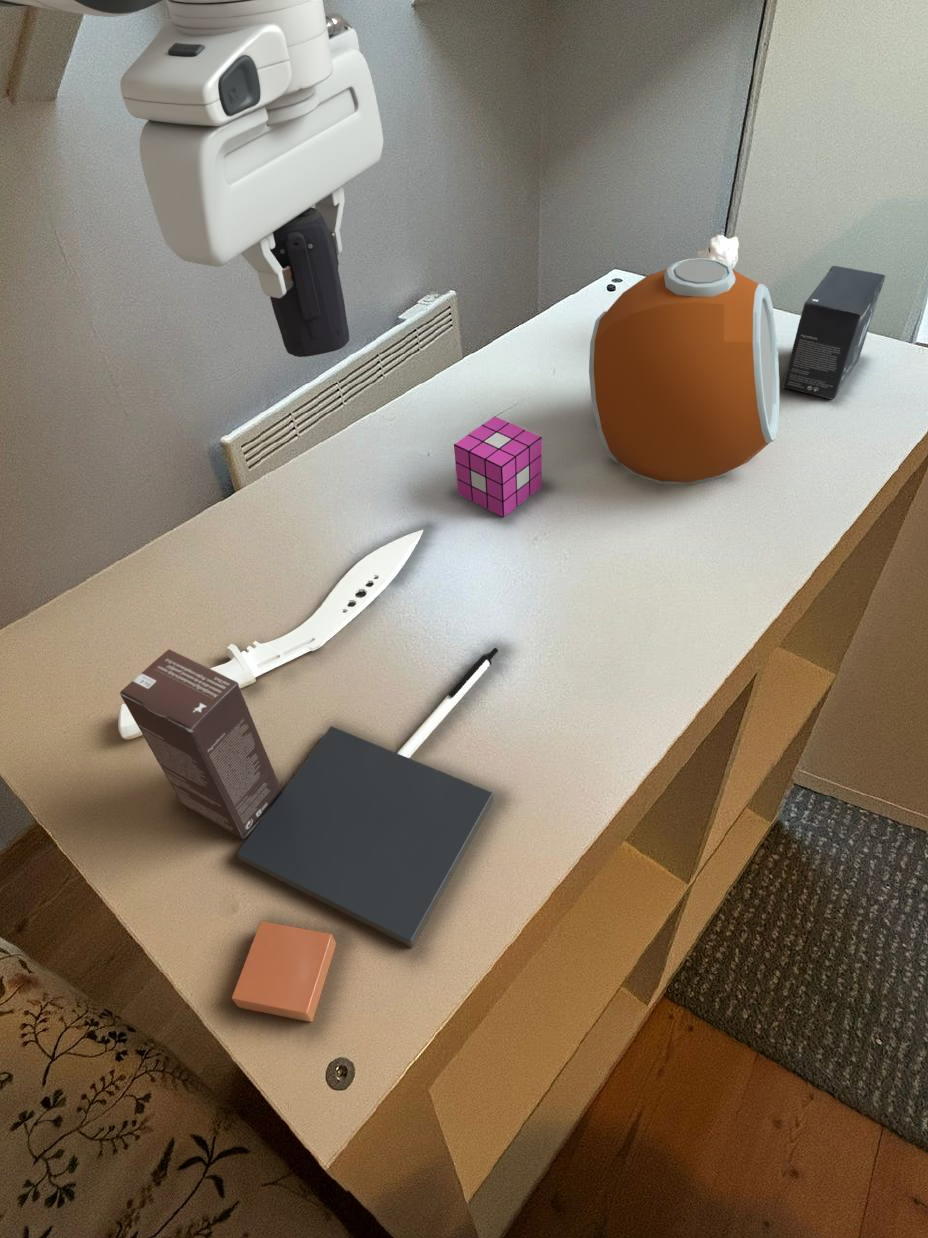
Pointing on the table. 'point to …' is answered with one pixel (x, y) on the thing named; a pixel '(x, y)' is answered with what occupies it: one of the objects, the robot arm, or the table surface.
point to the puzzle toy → (498, 465)
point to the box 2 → (832, 331)
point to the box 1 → (204, 741)
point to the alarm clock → (686, 373)
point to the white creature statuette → (722, 250)
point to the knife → (310, 621)
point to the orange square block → (285, 971)
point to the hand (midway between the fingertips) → (304, 274)
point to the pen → (447, 705)
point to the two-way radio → (310, 288)
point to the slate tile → (368, 833)
